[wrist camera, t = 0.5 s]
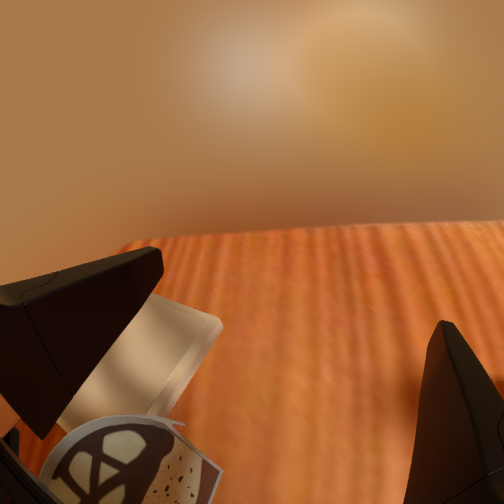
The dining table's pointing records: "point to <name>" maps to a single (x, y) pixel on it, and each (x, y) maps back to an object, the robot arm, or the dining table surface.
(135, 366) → the serving board
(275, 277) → the dining table surface
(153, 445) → the food container
